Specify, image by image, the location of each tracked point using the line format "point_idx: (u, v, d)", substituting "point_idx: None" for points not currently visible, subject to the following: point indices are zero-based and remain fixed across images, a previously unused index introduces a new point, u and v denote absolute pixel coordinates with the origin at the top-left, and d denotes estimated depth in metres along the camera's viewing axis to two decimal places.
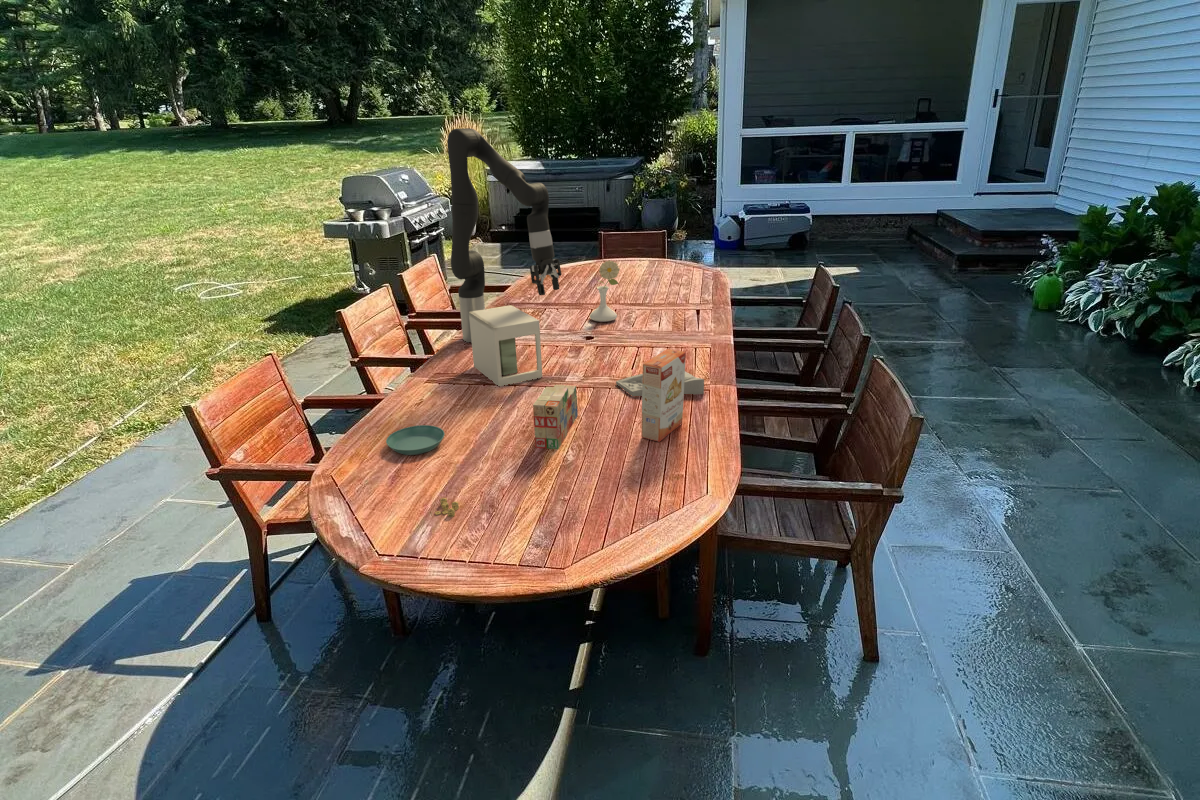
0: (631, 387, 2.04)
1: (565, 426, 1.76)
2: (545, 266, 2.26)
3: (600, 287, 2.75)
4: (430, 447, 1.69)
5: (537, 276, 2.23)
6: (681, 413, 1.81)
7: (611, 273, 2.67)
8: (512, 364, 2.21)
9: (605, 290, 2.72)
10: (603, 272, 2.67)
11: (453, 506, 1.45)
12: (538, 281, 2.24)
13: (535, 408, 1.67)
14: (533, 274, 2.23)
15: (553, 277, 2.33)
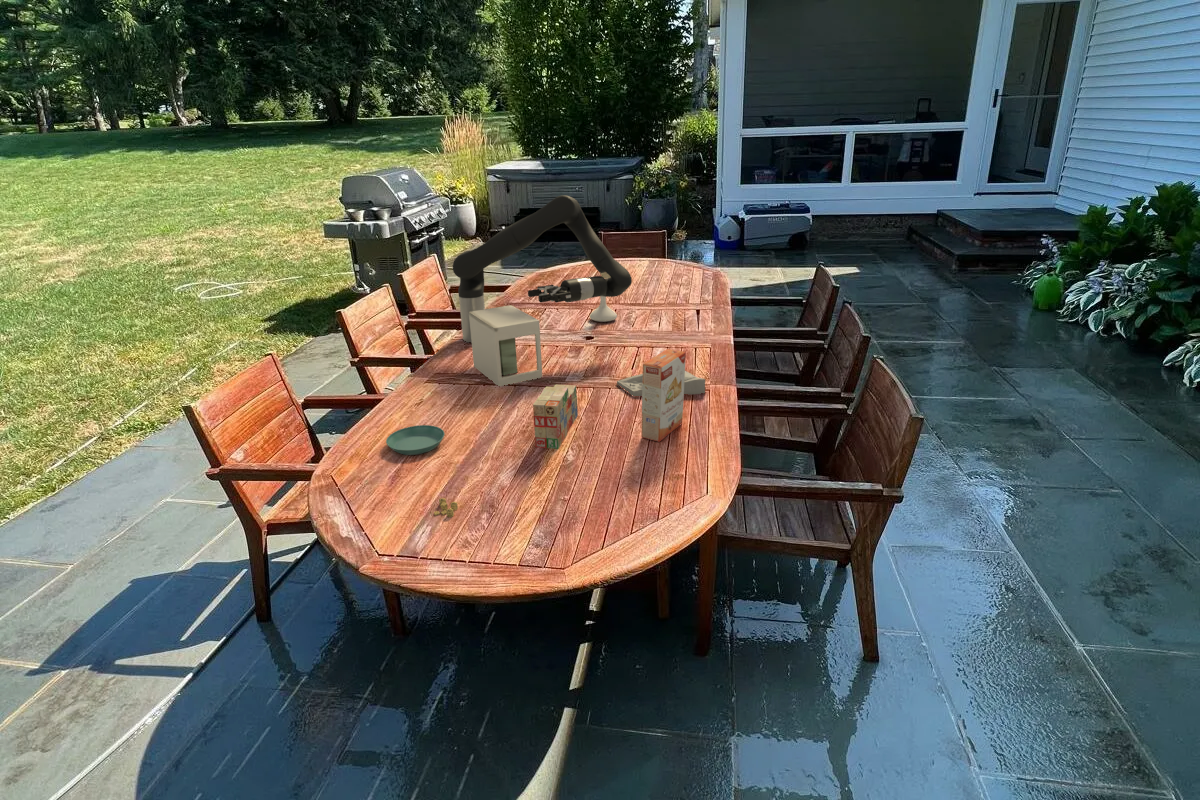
0: (632, 387, 2.04)
1: (565, 426, 1.76)
2: (561, 298, 2.23)
3: None
4: (430, 447, 1.69)
5: None
6: (681, 413, 1.81)
7: None
8: (512, 364, 2.21)
9: None
10: None
11: (452, 506, 1.44)
12: (556, 302, 2.17)
13: (535, 408, 1.67)
14: (563, 297, 2.17)
15: (540, 291, 2.24)
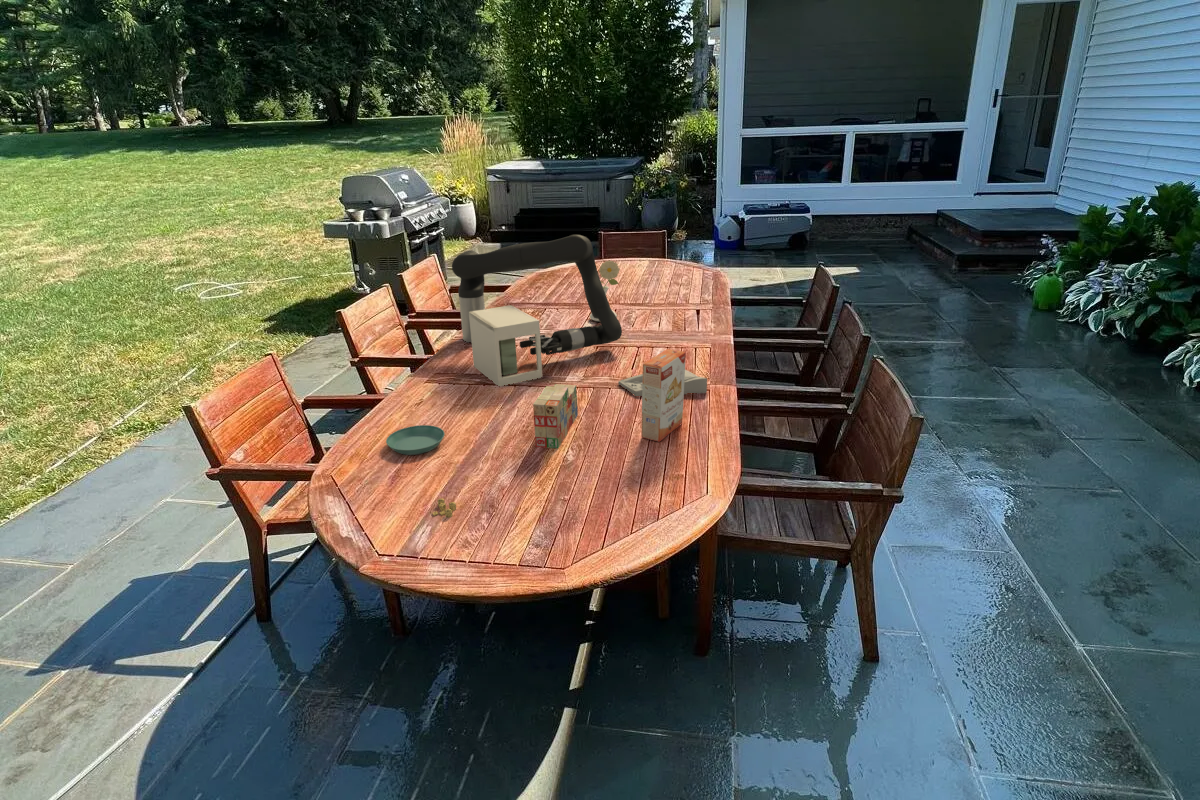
0: (634, 387, 2.04)
1: (565, 425, 1.77)
2: None
3: None
4: (430, 447, 1.69)
5: None
6: (681, 413, 1.81)
7: (611, 273, 2.67)
8: (512, 364, 2.21)
9: (605, 290, 2.72)
10: (603, 272, 2.67)
11: (450, 506, 1.44)
12: None
13: (535, 407, 1.68)
14: (554, 349, 2.22)
15: (531, 341, 2.29)
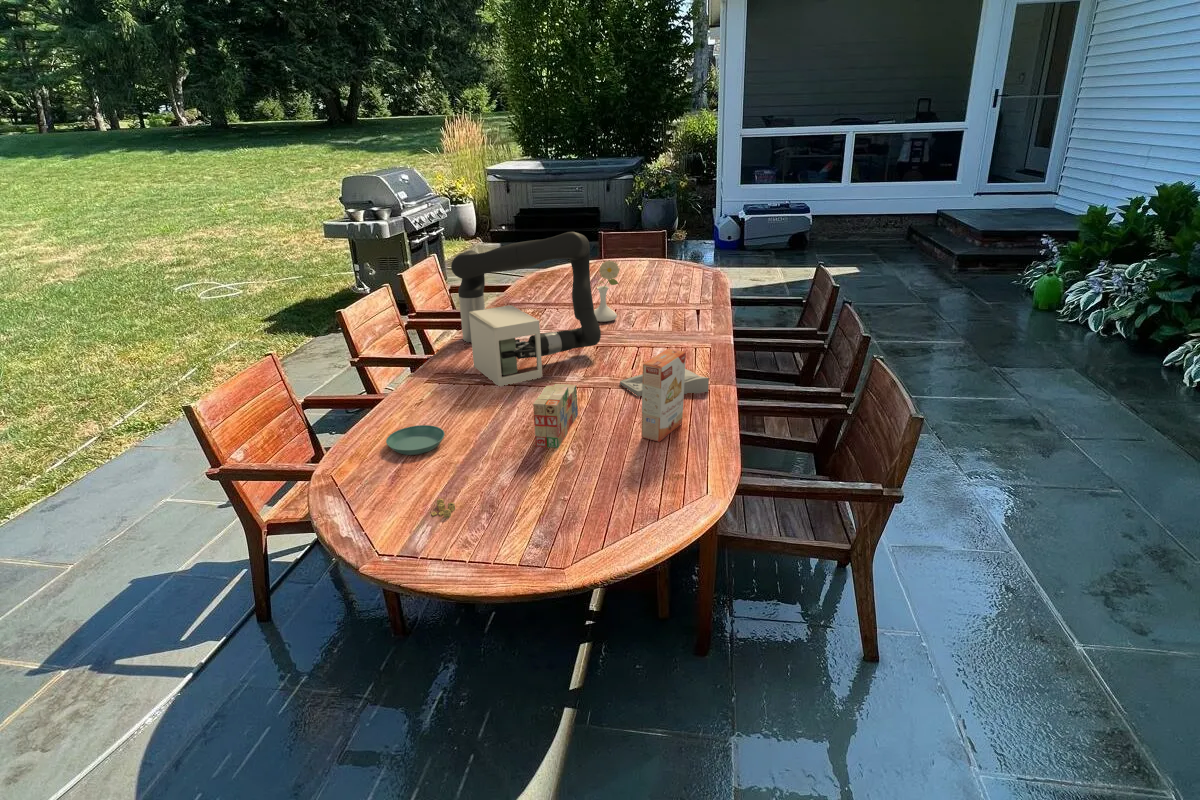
0: (636, 387, 2.04)
1: (565, 425, 1.77)
2: None
3: (600, 287, 2.75)
4: (430, 447, 1.69)
5: None
6: (681, 413, 1.81)
7: (611, 273, 2.67)
8: (512, 364, 2.21)
9: (605, 290, 2.72)
10: (603, 272, 2.67)
11: (449, 507, 1.44)
12: (519, 358, 2.18)
13: (535, 407, 1.68)
14: (526, 354, 2.18)
15: None
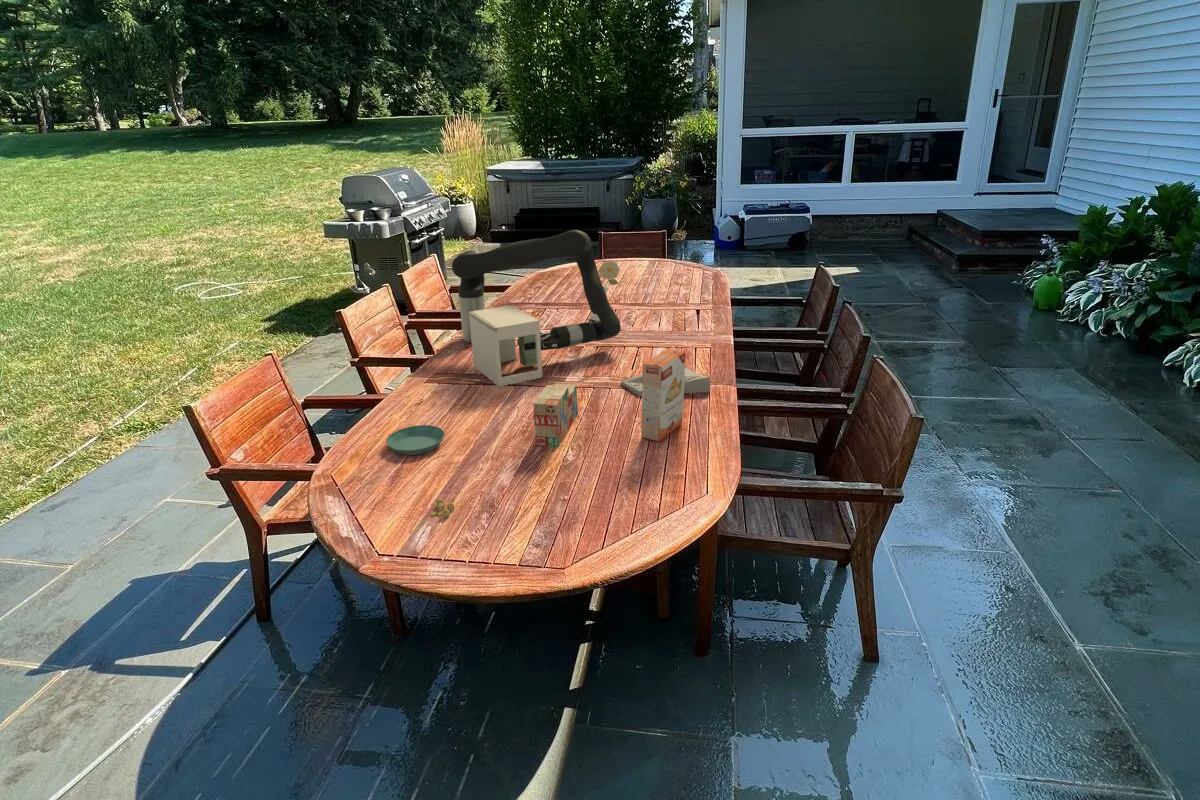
0: (637, 387, 2.04)
1: (565, 424, 1.77)
2: None
3: None
4: (430, 447, 1.69)
5: None
6: (681, 413, 1.81)
7: (611, 273, 2.67)
8: (534, 355, 2.24)
9: (605, 290, 2.72)
10: (603, 272, 2.67)
11: (448, 507, 1.44)
12: None
13: (535, 406, 1.68)
14: (549, 345, 2.21)
15: None
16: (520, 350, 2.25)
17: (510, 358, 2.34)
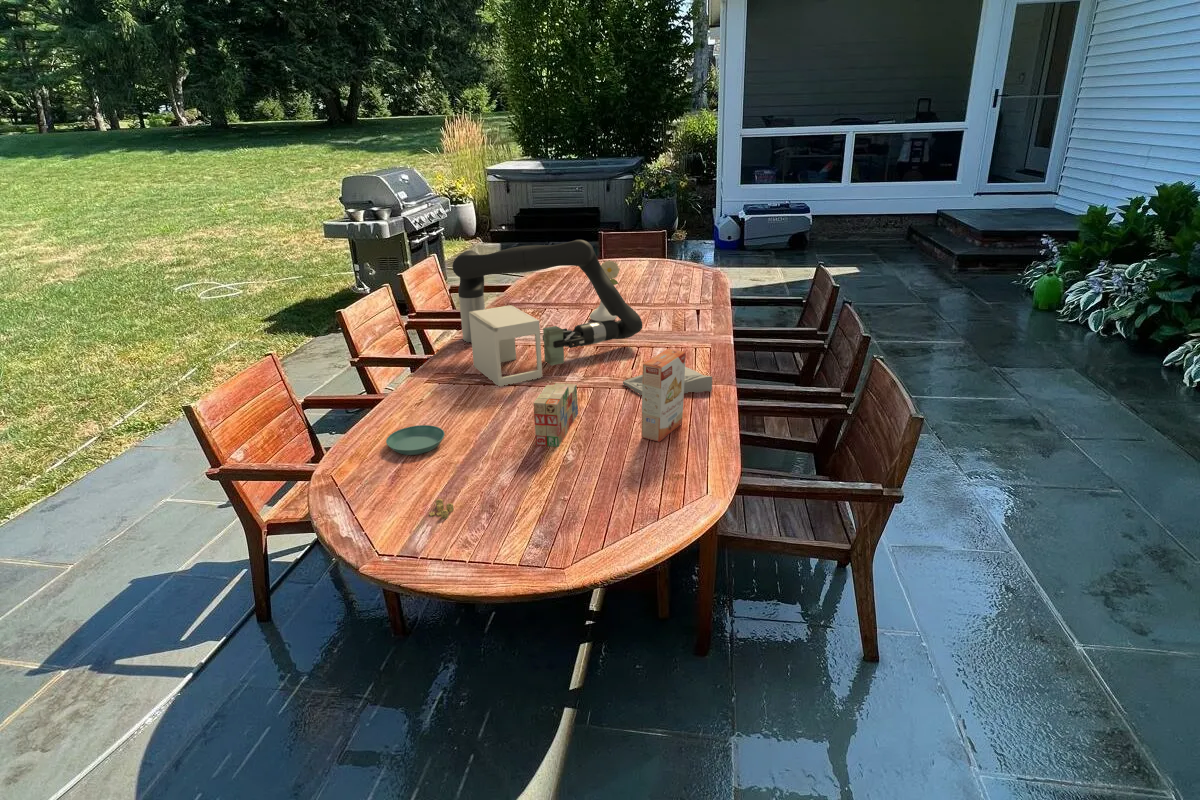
0: (640, 386, 2.04)
1: (565, 424, 1.77)
2: None
3: None
4: (430, 447, 1.69)
5: None
6: (681, 413, 1.81)
7: (611, 273, 2.67)
8: (559, 354, 2.29)
9: None
10: None
11: (448, 508, 1.44)
12: None
13: (535, 406, 1.69)
14: (577, 342, 2.25)
15: None
16: (545, 349, 2.30)
17: (510, 358, 2.34)
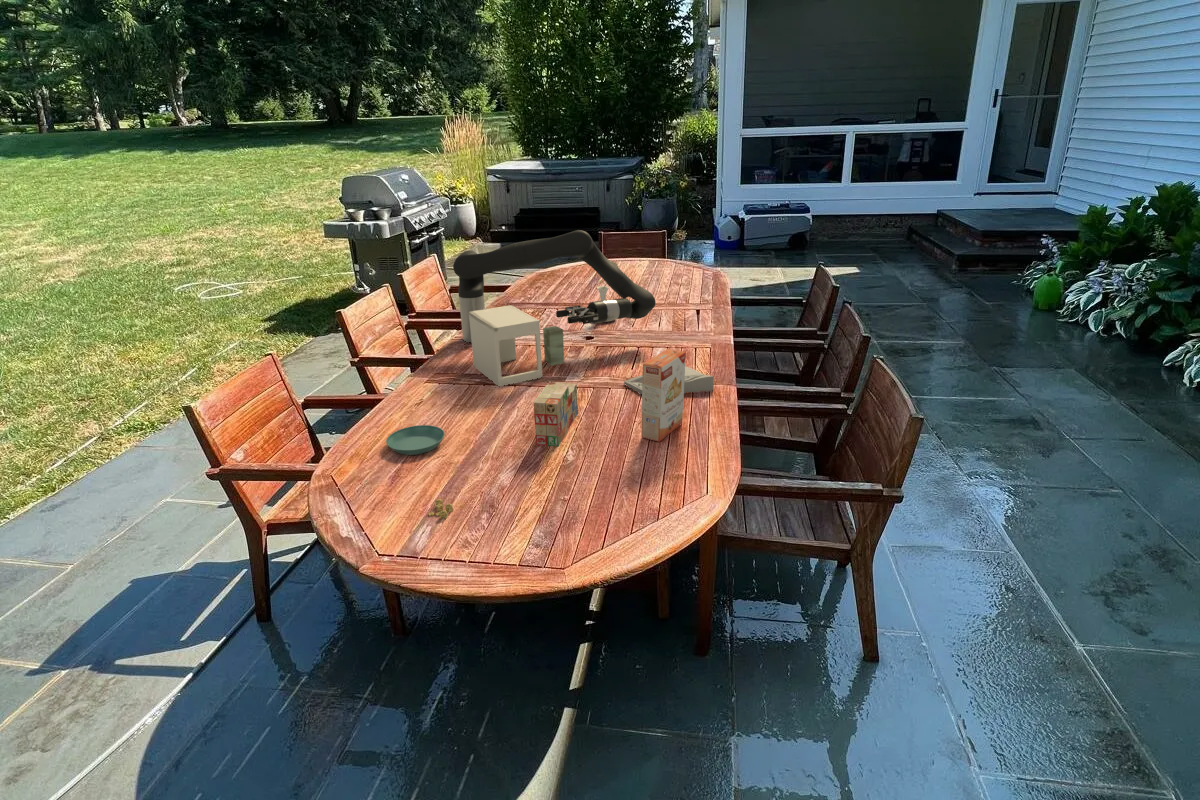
0: (641, 386, 2.04)
1: (565, 424, 1.78)
2: None
3: (600, 287, 2.75)
4: (430, 447, 1.69)
5: (588, 322, 2.26)
6: (681, 413, 1.81)
7: None
8: (559, 354, 2.29)
9: (605, 290, 2.72)
10: None
11: (447, 508, 1.44)
12: None
13: (536, 406, 1.69)
14: (591, 319, 2.25)
15: (567, 311, 2.33)
16: (545, 349, 2.30)
17: (510, 358, 2.34)
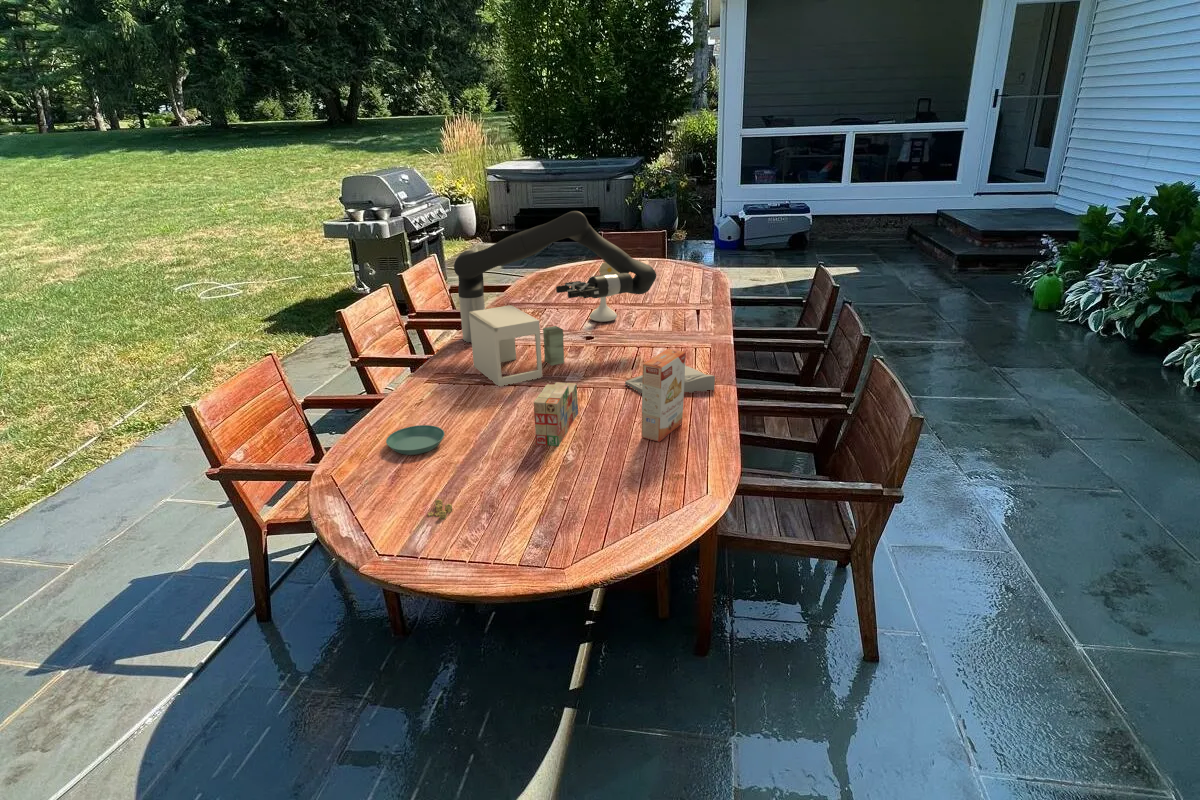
0: None
1: (565, 423, 1.78)
2: (589, 294, 2.27)
3: None
4: (430, 447, 1.69)
5: (589, 296, 2.22)
6: (681, 413, 1.81)
7: (611, 273, 2.67)
8: (559, 354, 2.29)
9: None
10: (603, 272, 2.67)
11: (446, 508, 1.44)
12: None
13: (536, 405, 1.69)
14: (592, 293, 2.22)
15: (568, 287, 2.29)
16: (545, 349, 2.30)
17: (510, 358, 2.34)
